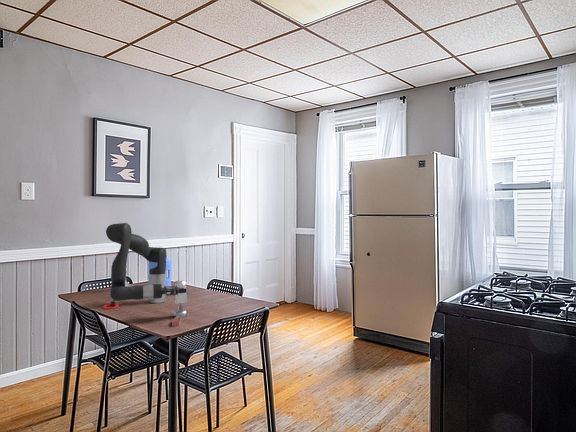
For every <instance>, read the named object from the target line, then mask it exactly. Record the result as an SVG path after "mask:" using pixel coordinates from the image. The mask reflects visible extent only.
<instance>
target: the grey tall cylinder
mask: <svg viewBox="0 0 576 432" xmlns="http://www.w3.org/2000/svg"><path fill="white" fill-rule="evenodd" d="M174 286H175V289H186V290H187V281H186V280H181V279H180V280H176V281H174ZM175 292H176V291H175ZM187 295H188V294H187V291H186V293H179V294H178V295H173V296H174V299H173V300H174V303H175V304H179V303H182V304H187V302H188V301H187V300H188V299H187Z"/></svg>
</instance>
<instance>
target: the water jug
mask: <svg viewBox="0 0 576 432" xmlns="http://www.w3.org/2000/svg"><path fill="white" fill-rule="evenodd" d="M147 261H148V260H147ZM156 266H157V263H155V262H149V261H148V263H147V268H148V269H147V271H148V272H147V273H148V274H147V276H148V277H147V278H148V280H147V281H148V284H147V285H149V284H150V274H149V271H150V269H152V268H155V267H156ZM171 269H172V259H171V258H169V257H167V256H166V270H165V272H166V271H167V276H165V286H172V278H171Z"/></svg>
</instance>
